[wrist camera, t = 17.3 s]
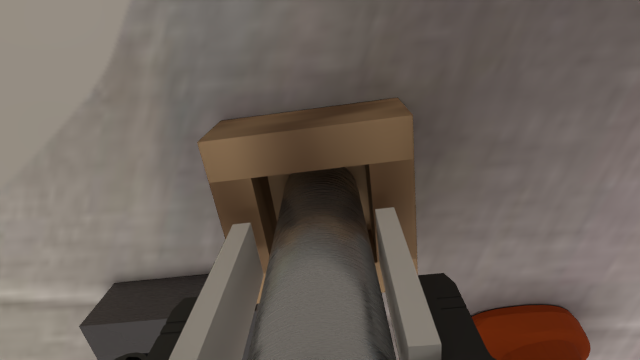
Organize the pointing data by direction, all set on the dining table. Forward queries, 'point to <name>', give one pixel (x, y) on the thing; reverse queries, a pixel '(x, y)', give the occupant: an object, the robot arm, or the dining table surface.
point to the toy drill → (532, 333)
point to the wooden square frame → (313, 165)
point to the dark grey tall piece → (321, 277)
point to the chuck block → (140, 315)
